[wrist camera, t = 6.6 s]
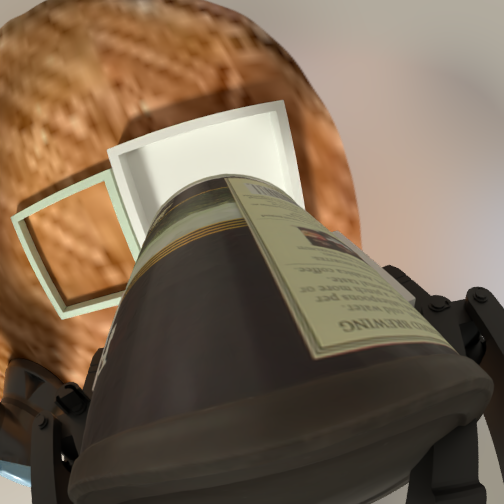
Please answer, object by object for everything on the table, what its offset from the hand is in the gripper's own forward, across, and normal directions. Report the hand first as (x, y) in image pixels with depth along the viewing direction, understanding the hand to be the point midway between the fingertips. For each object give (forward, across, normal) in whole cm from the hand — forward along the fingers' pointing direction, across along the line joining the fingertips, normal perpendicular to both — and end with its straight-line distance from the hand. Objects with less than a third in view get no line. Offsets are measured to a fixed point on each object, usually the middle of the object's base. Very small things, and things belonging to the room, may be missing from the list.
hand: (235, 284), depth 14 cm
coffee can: (+3, 0, 0) cm, 3 cm away
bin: (+19, 0, 0) cm, 19 cm away
